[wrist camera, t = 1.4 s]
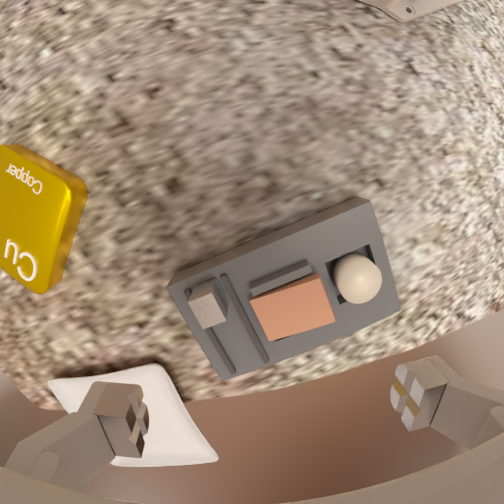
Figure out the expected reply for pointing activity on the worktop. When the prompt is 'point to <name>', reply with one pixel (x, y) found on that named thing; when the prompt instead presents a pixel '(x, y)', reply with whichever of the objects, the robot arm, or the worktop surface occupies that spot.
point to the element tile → (37, 217)
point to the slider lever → (209, 304)
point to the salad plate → (160, 416)
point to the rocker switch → (293, 307)
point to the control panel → (282, 272)
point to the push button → (356, 277)
